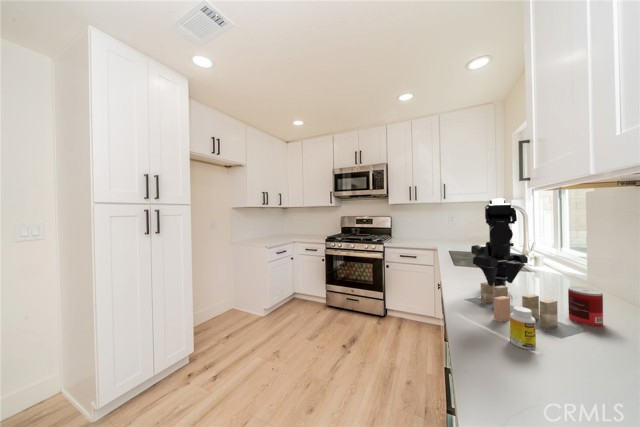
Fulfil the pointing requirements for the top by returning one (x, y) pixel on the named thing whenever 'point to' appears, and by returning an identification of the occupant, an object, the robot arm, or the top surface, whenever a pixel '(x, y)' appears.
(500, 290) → the domino
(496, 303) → the domino
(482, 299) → the domino
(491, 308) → the mat
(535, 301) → the domino
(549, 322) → the wooden block
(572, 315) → the canned food
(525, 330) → the supplement bottle
